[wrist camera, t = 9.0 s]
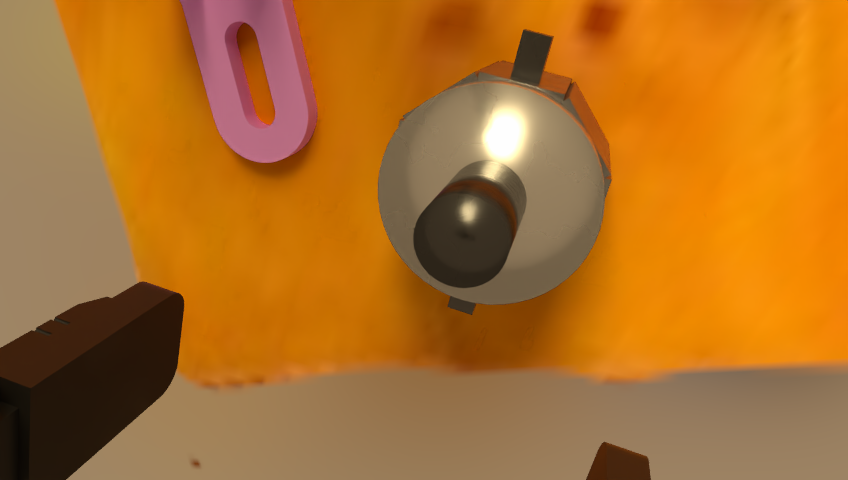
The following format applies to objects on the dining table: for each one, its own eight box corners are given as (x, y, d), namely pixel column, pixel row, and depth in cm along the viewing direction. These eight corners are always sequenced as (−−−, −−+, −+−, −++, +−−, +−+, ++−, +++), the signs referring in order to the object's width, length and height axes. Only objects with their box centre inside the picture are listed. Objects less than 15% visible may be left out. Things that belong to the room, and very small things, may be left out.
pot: (459, 7, 33) (425, 5, 27) (641, 53, 32) (651, 64, 25) (403, 243, 38) (362, 290, 31) (560, 292, 36) (551, 352, 30)
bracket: (174, -77, 35) (80, -97, 29) (268, -105, 34) (191, -133, 27) (240, 164, 39) (169, 194, 32) (328, 149, 37) (272, 177, 31)
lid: (409, 56, 27) (352, 68, 21) (635, 111, 26) (646, 142, 20) (369, 260, 31) (310, 323, 24) (567, 319, 29) (559, 402, 23)
